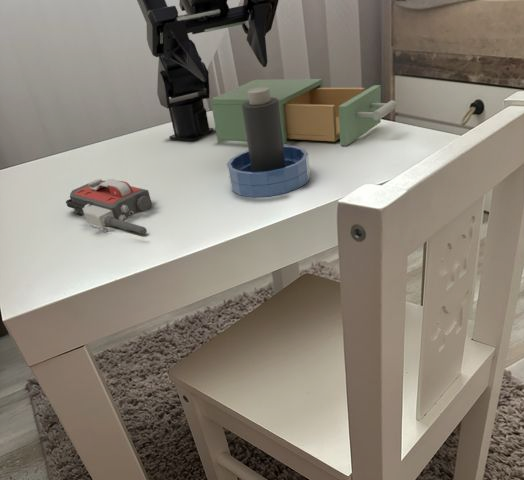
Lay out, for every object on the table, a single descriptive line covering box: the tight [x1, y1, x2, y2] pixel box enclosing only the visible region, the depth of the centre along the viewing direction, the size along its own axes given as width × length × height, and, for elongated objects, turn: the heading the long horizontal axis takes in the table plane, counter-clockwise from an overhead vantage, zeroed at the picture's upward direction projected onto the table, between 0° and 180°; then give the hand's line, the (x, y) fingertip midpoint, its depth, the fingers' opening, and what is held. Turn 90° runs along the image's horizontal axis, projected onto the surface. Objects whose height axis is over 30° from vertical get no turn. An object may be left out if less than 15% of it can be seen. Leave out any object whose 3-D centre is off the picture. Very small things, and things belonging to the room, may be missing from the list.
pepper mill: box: [242, 87, 286, 172], centre depth 71 cm, size 5×5×12 cm
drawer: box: [283, 84, 397, 147], centre depth 87 cm, size 18×12×6 cm
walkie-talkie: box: [65, 177, 153, 234], centre depth 72 cm, size 9×4×20 cm
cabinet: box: [209, 78, 324, 145], centre depth 94 cm, size 15×14×8 cm
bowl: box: [226, 144, 311, 198], centre depth 74 cm, size 11×11×4 cm
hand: (236, 71), depth 73 cm, fingers open, 9 cm apart
